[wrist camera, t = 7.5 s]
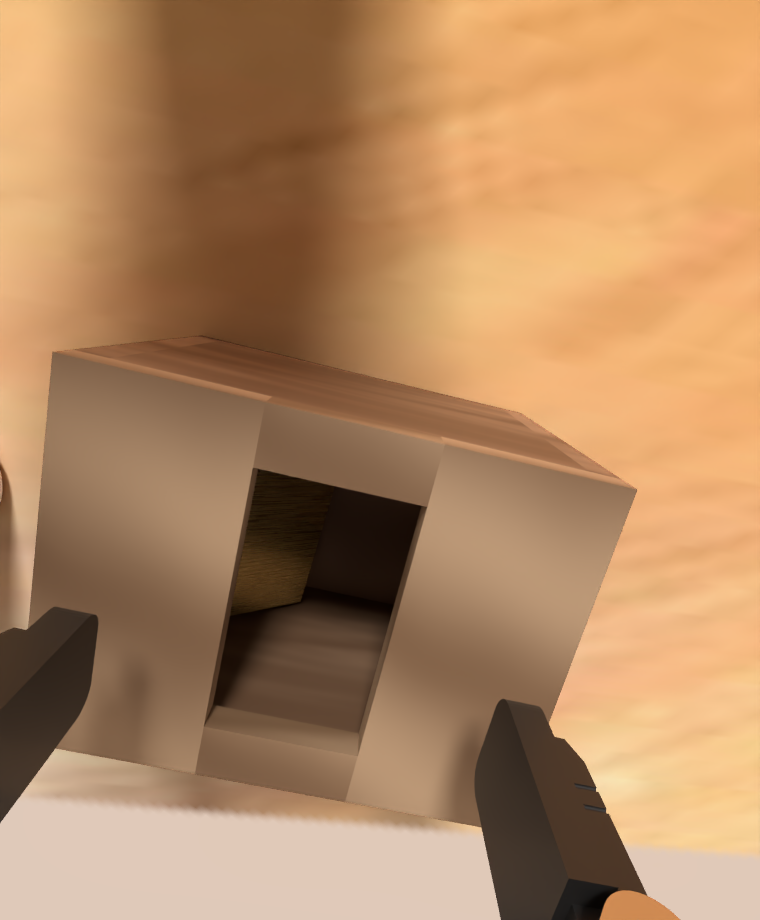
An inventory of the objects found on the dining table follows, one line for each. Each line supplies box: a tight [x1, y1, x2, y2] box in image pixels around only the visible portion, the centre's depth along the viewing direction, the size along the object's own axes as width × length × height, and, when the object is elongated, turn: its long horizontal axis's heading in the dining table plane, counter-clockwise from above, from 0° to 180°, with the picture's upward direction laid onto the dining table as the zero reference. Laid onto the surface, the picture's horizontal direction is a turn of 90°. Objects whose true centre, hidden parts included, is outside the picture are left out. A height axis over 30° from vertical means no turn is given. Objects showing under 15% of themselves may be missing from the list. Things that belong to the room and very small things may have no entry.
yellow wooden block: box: [230, 469, 335, 616], centre depth 20 cm, size 5×2×6 cm
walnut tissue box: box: [28, 336, 637, 827], centre depth 18 cm, size 10×13×10 cm
